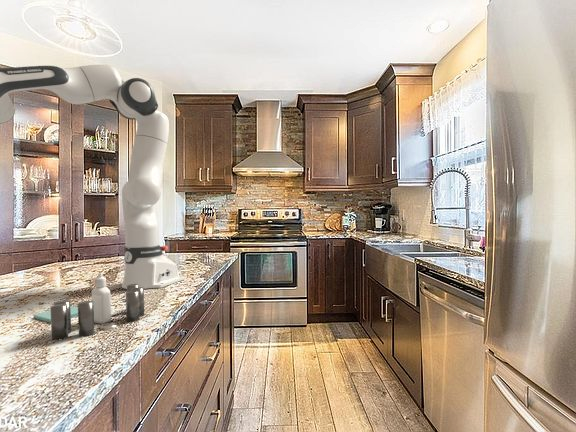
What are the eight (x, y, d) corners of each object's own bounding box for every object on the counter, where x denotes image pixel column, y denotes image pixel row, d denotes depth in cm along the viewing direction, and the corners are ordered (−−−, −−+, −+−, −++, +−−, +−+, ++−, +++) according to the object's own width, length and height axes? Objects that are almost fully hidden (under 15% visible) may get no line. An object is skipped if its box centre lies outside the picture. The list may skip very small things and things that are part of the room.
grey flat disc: (107, 325, 82) (107, 322, 82) (121, 326, 81) (121, 323, 81) (96, 331, 78) (96, 327, 78) (111, 331, 78) (111, 328, 78)
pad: (70, 308, 96) (69, 305, 96) (89, 312, 91) (88, 309, 91) (33, 317, 88) (33, 314, 88) (52, 323, 83) (52, 319, 83)
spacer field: (134, 308, 94) (134, 283, 94) (158, 313, 90) (157, 286, 90) (42, 337, 74) (41, 305, 74) (67, 344, 70) (65, 311, 70)
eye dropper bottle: (90, 325, 81) (88, 275, 81) (92, 318, 86) (91, 271, 86) (111, 322, 83) (109, 273, 83) (112, 316, 88) (110, 270, 88)
